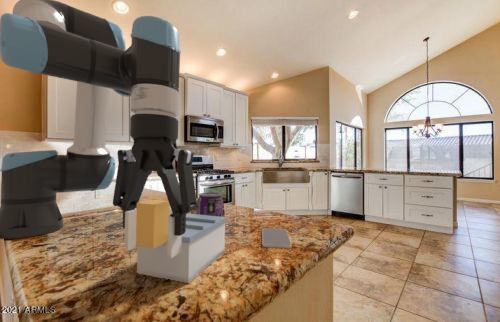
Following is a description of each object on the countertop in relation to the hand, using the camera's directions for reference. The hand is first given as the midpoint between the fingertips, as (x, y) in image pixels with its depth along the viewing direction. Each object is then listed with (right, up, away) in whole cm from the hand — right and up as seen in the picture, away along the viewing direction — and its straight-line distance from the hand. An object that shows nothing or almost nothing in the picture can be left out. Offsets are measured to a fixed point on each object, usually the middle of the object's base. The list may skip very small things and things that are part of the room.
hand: (152, 250), depth 39 cm
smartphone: (+23, -7, +26) cm, 35 cm away
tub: (+3, -6, +9) cm, 11 cm away
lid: (+2, 0, +7) cm, 8 cm away
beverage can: (+5, -6, +25) cm, 26 cm away
